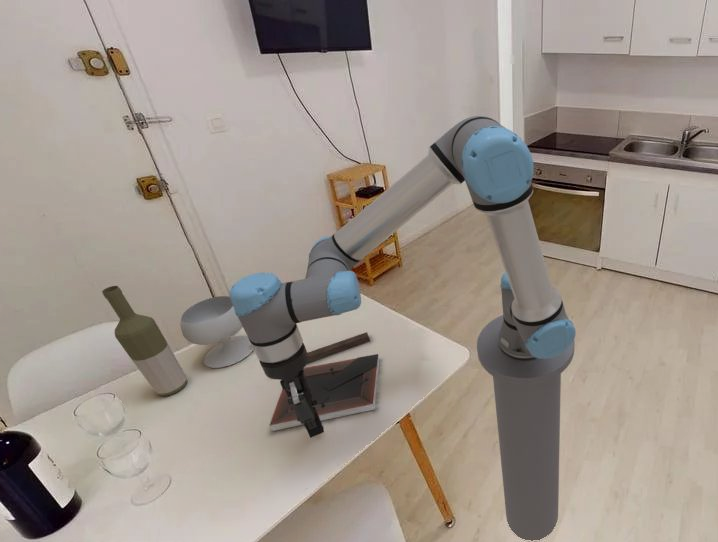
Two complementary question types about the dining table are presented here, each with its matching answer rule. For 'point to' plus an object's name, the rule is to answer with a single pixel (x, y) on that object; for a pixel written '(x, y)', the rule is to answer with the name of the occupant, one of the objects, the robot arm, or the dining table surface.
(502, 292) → the robot arm
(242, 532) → the dining table surface
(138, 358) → the bottle
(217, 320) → the chalice
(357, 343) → the walnut rail
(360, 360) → the picture frame
